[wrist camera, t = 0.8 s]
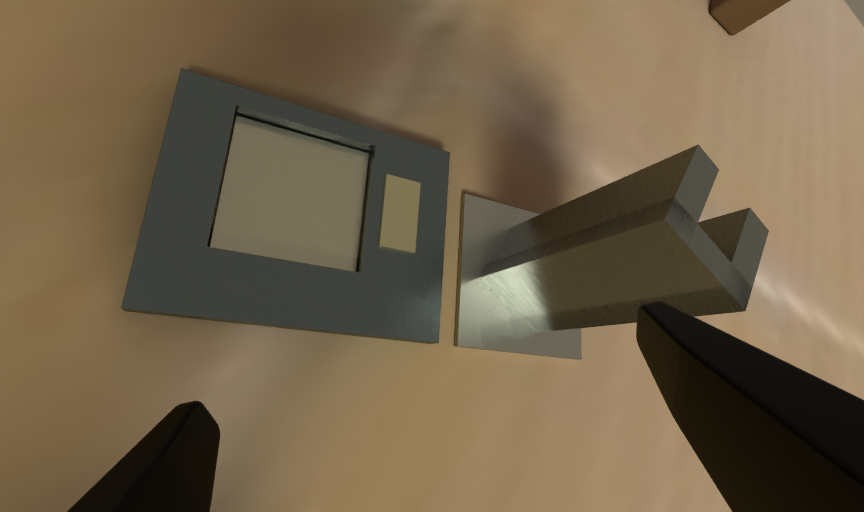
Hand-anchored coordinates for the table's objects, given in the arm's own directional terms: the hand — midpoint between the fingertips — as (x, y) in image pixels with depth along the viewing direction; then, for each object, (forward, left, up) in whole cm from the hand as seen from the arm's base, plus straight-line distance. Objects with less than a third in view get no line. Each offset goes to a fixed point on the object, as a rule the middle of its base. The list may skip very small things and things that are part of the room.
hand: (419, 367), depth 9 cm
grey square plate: (+6, -13, -14) cm, 20 cm away
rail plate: (+7, 0, -14) cm, 15 cm away
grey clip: (+6, -13, -13) cm, 20 cm away
